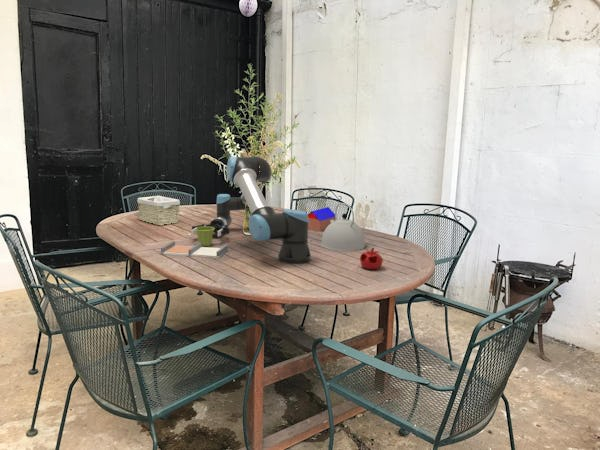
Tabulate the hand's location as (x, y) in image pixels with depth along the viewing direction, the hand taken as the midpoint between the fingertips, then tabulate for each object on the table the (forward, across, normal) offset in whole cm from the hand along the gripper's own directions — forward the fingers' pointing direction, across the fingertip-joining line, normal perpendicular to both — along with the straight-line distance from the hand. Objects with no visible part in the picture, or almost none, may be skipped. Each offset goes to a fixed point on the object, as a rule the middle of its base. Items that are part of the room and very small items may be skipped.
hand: (205, 233), depth 246 cm
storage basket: (-46, +46, -6) cm, 65 cm away
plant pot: (+2, 0, -6) cm, 6 cm away
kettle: (-16, -69, -6) cm, 71 cm away
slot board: (+17, 0, -6) cm, 18 cm away
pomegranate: (+22, -84, -6) cm, 87 cm away
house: (-57, -53, -6) cm, 78 cm away
